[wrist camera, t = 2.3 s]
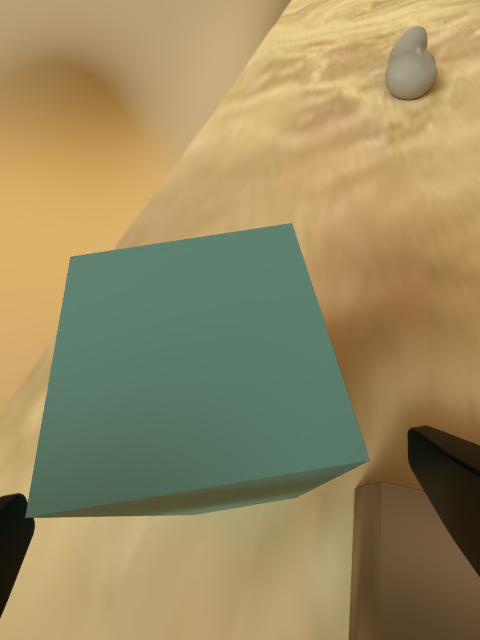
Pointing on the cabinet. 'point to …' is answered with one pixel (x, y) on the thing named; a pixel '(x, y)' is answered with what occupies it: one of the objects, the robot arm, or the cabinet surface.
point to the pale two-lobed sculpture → (410, 65)
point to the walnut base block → (408, 571)
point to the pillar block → (191, 382)
